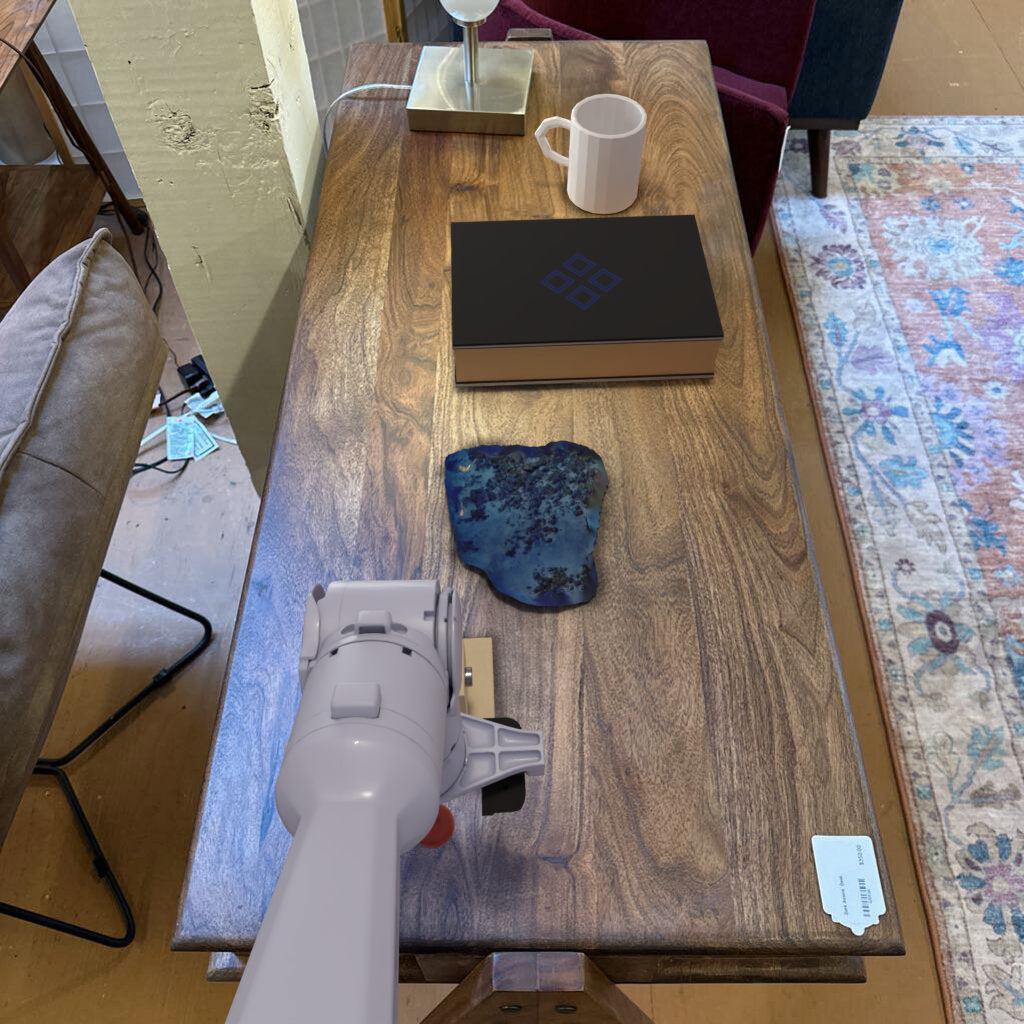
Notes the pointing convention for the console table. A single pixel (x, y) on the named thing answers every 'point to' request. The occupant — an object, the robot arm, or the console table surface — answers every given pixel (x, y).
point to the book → (581, 301)
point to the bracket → (477, 678)
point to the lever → (440, 829)
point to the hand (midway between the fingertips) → (427, 802)
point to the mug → (601, 151)
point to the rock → (529, 517)
